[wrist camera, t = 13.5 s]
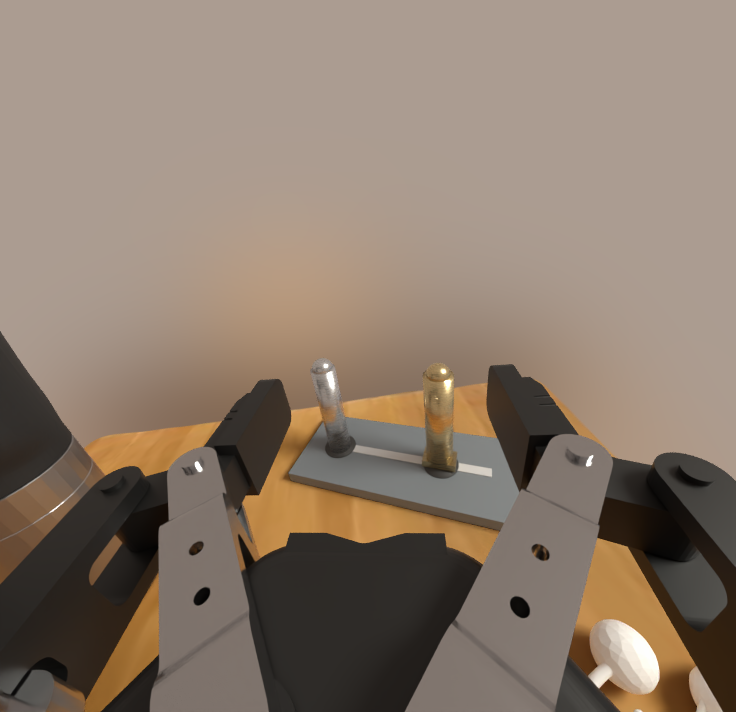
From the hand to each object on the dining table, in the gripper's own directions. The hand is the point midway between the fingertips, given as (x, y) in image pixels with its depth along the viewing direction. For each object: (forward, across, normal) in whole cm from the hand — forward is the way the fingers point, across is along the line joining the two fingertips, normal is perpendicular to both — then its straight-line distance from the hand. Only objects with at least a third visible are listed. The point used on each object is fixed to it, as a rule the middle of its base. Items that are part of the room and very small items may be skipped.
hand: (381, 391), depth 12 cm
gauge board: (+19, +1, +26) cm, 32 cm away
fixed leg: (+21, +9, +24) cm, 34 cm away
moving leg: (+18, -4, +24) cm, 30 cm away
